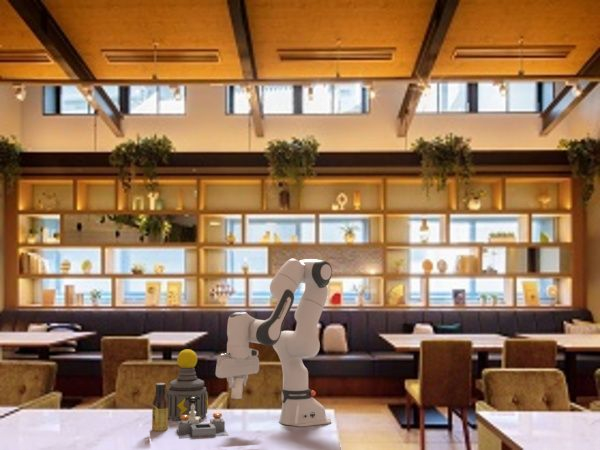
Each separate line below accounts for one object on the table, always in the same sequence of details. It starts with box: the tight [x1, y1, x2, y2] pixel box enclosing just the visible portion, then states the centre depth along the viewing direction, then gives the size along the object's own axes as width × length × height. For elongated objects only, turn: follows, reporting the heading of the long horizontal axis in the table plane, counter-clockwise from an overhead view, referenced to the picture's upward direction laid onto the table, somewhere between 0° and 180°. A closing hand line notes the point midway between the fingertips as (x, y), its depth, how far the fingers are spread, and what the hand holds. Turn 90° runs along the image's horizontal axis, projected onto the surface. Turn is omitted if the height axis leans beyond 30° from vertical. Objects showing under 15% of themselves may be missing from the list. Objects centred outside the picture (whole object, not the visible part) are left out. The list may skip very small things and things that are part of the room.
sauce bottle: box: [151, 382, 169, 432], centre depth 267 cm, size 7×6×20 cm
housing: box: [176, 418, 229, 440], centre depth 261 cm, size 19×15×5 cm
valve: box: [185, 396, 202, 424], centre depth 280 cm, size 7×7×12 cm
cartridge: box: [230, 375, 244, 400], centre depth 266 cm, size 4×4×10 cm
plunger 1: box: [180, 415, 190, 423], centre depth 264 cm, size 4×4×6 cm
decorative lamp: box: [165, 348, 209, 422], centre depth 298 cm, size 19×19×30 cm
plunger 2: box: [212, 412, 223, 421], centre depth 267 cm, size 4×4×6 cm
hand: (237, 386), depth 266 cm, fingers closed on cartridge, 5 cm apart
